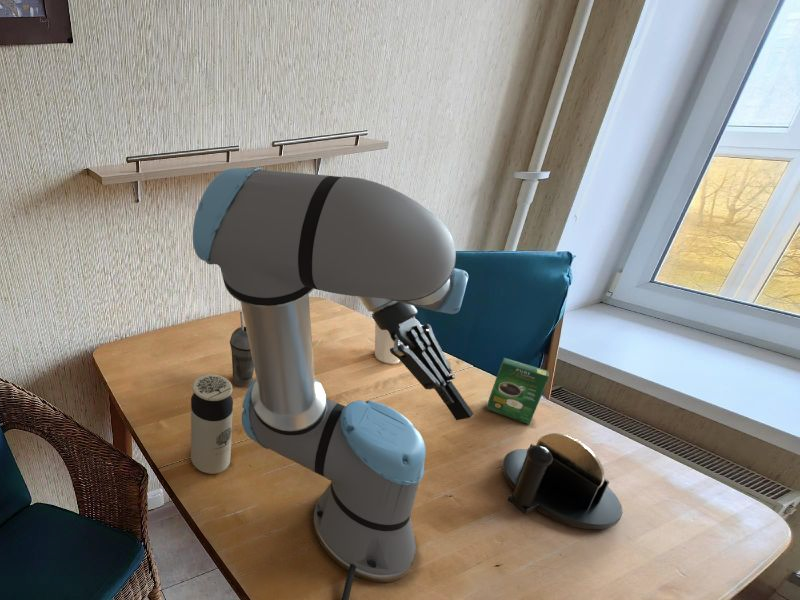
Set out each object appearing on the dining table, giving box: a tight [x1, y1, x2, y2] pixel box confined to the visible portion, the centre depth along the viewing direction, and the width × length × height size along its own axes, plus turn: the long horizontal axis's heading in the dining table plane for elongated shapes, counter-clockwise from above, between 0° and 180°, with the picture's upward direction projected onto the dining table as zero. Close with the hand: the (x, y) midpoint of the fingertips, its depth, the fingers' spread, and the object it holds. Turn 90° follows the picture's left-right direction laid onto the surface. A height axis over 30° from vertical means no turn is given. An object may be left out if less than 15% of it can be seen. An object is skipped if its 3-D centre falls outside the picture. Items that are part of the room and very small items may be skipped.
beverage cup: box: [229, 311, 255, 388], centre depth 106 cm, size 7×7×20 cm
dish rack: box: [501, 432, 623, 530], centre depth 74 cm, size 20×16×13 cm
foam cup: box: [374, 316, 416, 365], centre depth 116 cm, size 10×9×13 cm
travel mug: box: [190, 373, 234, 475], centre depth 83 cm, size 8×8×18 cm
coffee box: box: [486, 357, 550, 425], centre depth 94 cm, size 8×3×13 cm, turn 49°
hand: (464, 417), depth 78 cm, fingers closed
